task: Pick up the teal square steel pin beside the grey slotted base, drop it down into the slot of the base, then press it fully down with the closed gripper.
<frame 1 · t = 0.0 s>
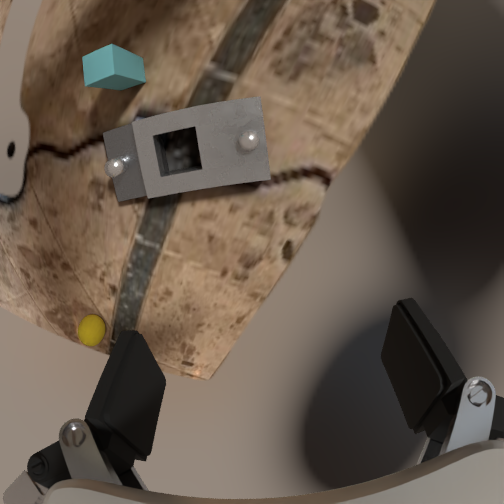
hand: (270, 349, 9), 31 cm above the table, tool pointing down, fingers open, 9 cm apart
grey slotted base: (184, 148, 35), on the table
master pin: (131, 74, 30), on the table
lemon: (99, 316, 50), on the table
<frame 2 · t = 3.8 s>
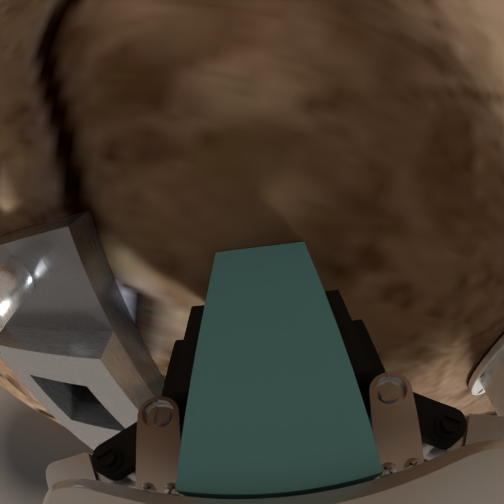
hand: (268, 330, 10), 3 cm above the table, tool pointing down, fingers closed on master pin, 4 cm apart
grey slotted base: (95, 364, 17), on the table
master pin: (264, 283, 13), on the table, touching gripper
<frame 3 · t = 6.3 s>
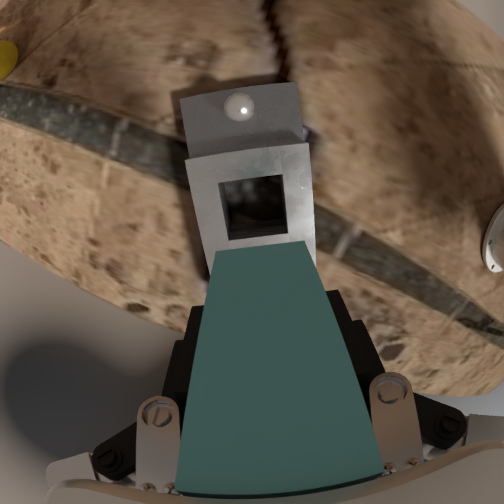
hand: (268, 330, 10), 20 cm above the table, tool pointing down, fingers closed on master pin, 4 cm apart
grey slotted base: (253, 196, 28), on the table
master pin: (264, 282, 13), point 16 cm above the table, touching gripper
lemon: (17, 61, 18), on the table
when the fingers open (7 cm above the table, at t = 9.1 s): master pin drops 3 cm, resting in grey slotted base.
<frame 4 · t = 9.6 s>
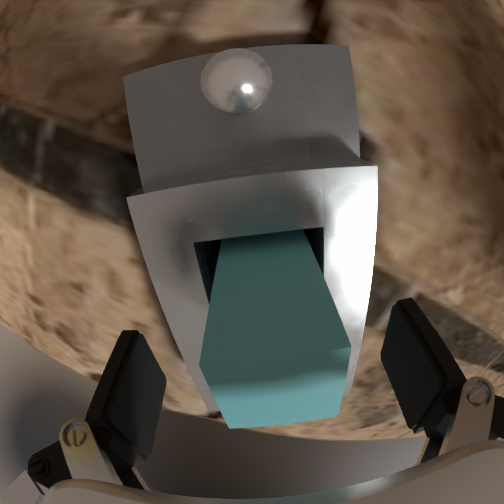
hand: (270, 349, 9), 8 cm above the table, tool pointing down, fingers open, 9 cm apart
grey slotted base: (261, 250, 16), on the table
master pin: (264, 249, 16), resting in grey slotted base
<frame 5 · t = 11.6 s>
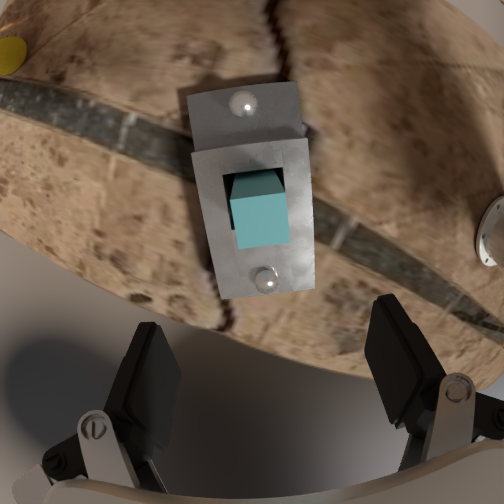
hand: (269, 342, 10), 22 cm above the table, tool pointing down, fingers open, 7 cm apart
grey slotted base: (255, 188, 29), on the table
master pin: (256, 188, 29), resting in grey slotted base
lemon: (25, 57, 19), on the table
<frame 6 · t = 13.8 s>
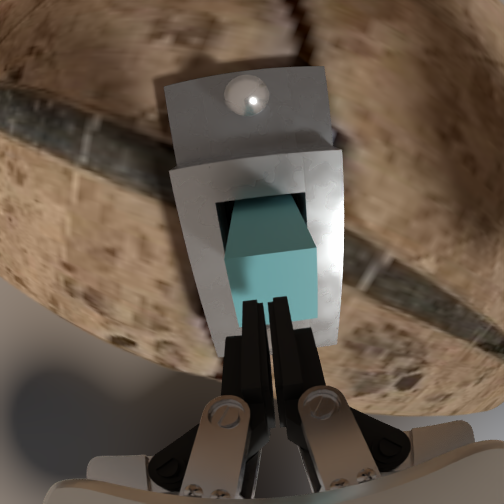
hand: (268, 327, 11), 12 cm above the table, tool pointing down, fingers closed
grey slotted base: (262, 216, 22), on the table
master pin: (265, 216, 22), resting in grey slotted base
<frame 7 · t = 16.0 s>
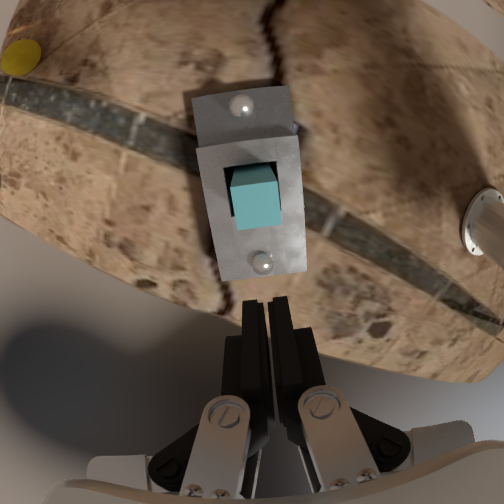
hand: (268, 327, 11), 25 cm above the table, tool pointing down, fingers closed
grey slotted base: (252, 181, 32), on the table
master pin: (253, 180, 33), resting in grey slotted base
lemon: (38, 59, 22), on the table
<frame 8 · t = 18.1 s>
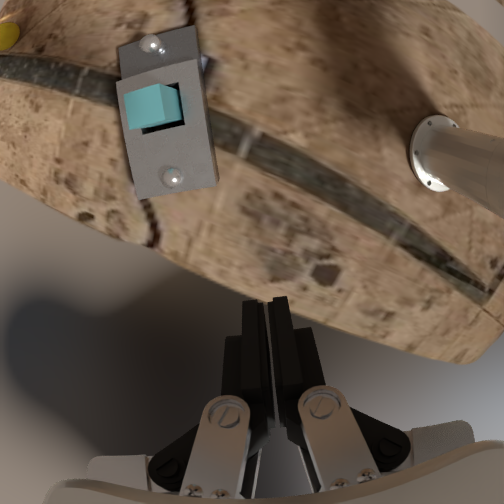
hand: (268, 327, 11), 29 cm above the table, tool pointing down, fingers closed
grey slotted base: (168, 109, 32), on the table
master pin: (169, 108, 32), resting in grey slotted base
lemon: (18, 38, 21), on the table
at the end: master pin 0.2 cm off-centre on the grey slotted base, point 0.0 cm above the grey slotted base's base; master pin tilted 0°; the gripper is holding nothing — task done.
